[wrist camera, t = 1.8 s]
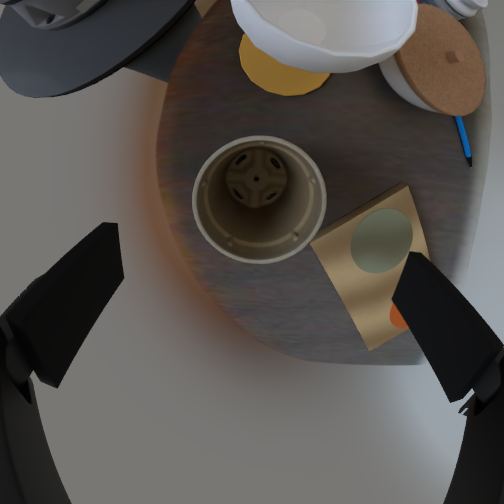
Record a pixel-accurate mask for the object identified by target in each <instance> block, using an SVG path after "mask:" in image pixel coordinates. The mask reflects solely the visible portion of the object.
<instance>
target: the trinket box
mask: <svg viewBox="0 0 504 504" xmlns="http://www.w3.org/2000/svg"><path fill="white" fill-rule="evenodd" d="M417 5H418V15H417V23H416V30H415V32H414V33H413V34H412V36H411V37H410V38H409V39H408V40H407V41H406V42H405V44H404V45H403V46H402V47H401V48H400V49H399V50H398V51H397V52H395V53H394V54H393V55H391V56H390V57H389V58H388V59H386V60H385V61H382V62H379V67H380V69H381V71H382V74H383V76H384V77H385V79H386V81H387V82H388V84H389V85H390V86H391V88H392V89H393V90H394V91H395V92H396V93H397V94H399V95H400V96H401V97H402V98H403V99H405V100H406V101H408V102H409V103H411V104H413V105H415V106H417V107H419V108H422V109H425V110H428V111H432V112H437V113H443V114H446V115H451V116H465V115H468V114H470V113H472V112H473V111H474V110H475V109H476V108H477V107H478V106H479V104H480V103H481V101H482V99H483V96H484V92H485V85H486V76H485V69H484V64H483V60H482V57H481V55H480V52H479V50H478V48H477V46H476V44H475V42H474V40H473V39H472V37H471V36H470V34H469V33H468V31H467V30H466V29H465V28H464V27H463V26H462V24H461V23H460V22H459V21H457V20H456V19H455V18H454V17H453V16H452V15H450V14H449V13H447V12H445V11H444V10H442V9H440V8H438V7H435V6H432V5H428V4H417Z"/></svg>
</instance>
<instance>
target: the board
mask: <svg viewBox="0 0 504 504" xmlns="http://www.w3.org/2000/svg"><path fill="white" fill-rule="evenodd" d="M309 243H310V245H311V247H312V248H313V250H314V252H315V254H316V255H317V257H318V259H319V260H320V262H321V264H322V265H323V267H324V269H325V271H326V272H327V274H328V276H329V278H330V279H331V281H332V283H333V285H334V286H335V288H336V290H337V292H338V294H339V295H340V297H341V299H342V301H343V303H344V304H345V306H346V308H347V310H348V312H349V314H350V315H351V317H352V319H353V321H354V323H355V325H356V327H357V329H358V330H359V332H360V334H361V336H362V338H363V340H364V342H365V344H366V346H367V348H368V350H369V351H370V350H372V349H374V348H376V347H378V346H380V345H382V344H383V343H385V342H387V341H389V340H391V339H392V338H394V337H396V336H398V335H399V334H401V333H403V332H404V331H406V330H408V329H409V327H407V328H398V327H396V326H394V325H393V324H392V323H391V321H390V317H389V314H390V309H391V306H392V304H393V302H392V300H391V298H392V296H393V294H394V291H395V289H396V286H397V284H398V281H399V279H400V276H401V273H402V271H403V268H404V265H405V262H406V260H407V257H408V254H409V251H413V252H421V253H422V254H423V255H424V256H425V257H426V258H427V259H428V260H429V261H430V258H429V254H428V249H427V245H426V242H425V238H424V234H423V231H422V227H421V224H420V220H419V217H418V214H417V210H416V207H415V204H414V201H413V198H412V195H411V192H410V190H409V187H408V185H406V184H404V183H402V182H401V183H400V184H398V185H396V186H395V187H393V188H391V189H390V190H388V191H386V192H385V193H383V194H381V195H380V196H378V197H376V198H374V199H373V200H371V201H369V202H368V203H366V204H364V205H363V206H361V207H359V208H357V209H356V210H354V211H352V212H351V213H349V214H347V215H346V216H344V217H342V218H340V219H339V220H337V221H335V222H333V223H332V224H330V225H328V226H327V227H325V228H323V229H321V230H320V231H318V232H317V233H316V235H315V236H314V237H313V239H312V240H311V241H310V242H309Z"/></svg>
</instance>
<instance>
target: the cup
mask: <svg viewBox="0 0 504 504" xmlns="http://www.w3.org/2000/svg"><path fill="white" fill-rule="evenodd" d="M231 4H232V9H233V13H234V15H235V18H236V20H237V22H238V24H239V26H240V27H241V28H242V29H243V31H244V32H245V34H244V35H243V38H242V41H241V44H240V48H239V55H240V60H241V66H242V68H243V69H244V71H245V72H246V74H247V75H248V77H249V78H250V80H251V81H252V82H254V83H255V84H257V85H258V86H260V87H261V88H263V89H264V90H266V91H267V92H271V93H275V94H279V95H283V96H293V95H304V94H306V93H308V92H310V91H312V90H315V89H317V88H319V87H320V86H321V85H322V84H323V83H324V81H325V80H326V79H327V78H328V77H329V76H330V73H346V72H352V71H357V70H360V69H363V68H365V67H368V66H371V65H373V64H376V63H379V62H382V61H385V60H386V59H388V58H389V57H390V56H391V55H393V54H394V53H395V52H397V51H398V50H399V49H400V48H401V47H402V46H403V45H404V44H405V42H406V41H407V40H408V39H409V38H410V37H411V36H412V34H413V33H414V32H415V30H416V23H417V15H418V5H417V2H416V0H231Z"/></svg>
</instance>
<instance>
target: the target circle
mask: <svg viewBox="0 0 504 504" xmlns="http://www.w3.org/2000/svg"><path fill="white" fill-rule="evenodd" d="M389 317H390V321H391V323H392V324H393V325H394V326H396V327H398V328H407V327H408V325H407V324H406V322H405V320H404V319H403V317H402V316H401V314H400V312H399V311H398V309H397V308H396V306H395V305H394V303H393V304H392V306H391V309H390V314H389Z"/></svg>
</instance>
